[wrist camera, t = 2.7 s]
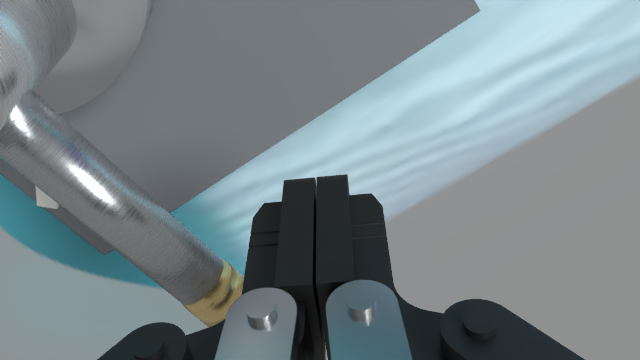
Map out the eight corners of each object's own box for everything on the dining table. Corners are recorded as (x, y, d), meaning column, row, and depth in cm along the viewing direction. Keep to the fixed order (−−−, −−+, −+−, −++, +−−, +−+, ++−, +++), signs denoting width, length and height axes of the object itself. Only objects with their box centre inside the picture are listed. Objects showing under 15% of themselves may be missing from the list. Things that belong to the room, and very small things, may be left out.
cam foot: (-271, -87, 15) (-530, -20, 11) (-63, -361, 12) (-295, -438, 8) (167, 273, 23) (130, 407, 18) (362, 155, 20) (378, 278, 15)
